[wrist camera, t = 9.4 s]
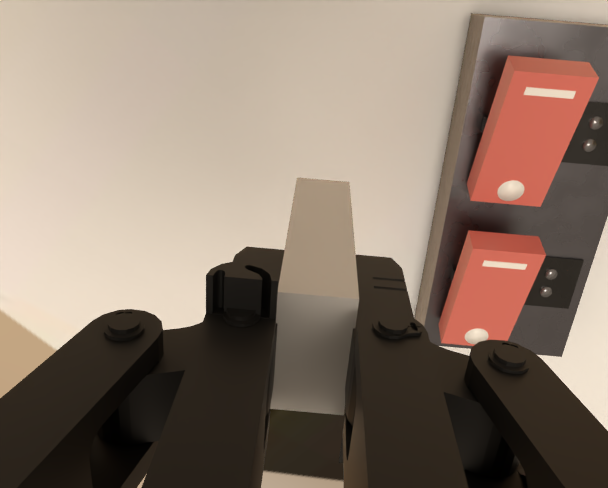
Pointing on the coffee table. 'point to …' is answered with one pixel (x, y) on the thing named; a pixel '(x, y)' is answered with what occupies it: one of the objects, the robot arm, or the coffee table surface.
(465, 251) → the plate
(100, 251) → the coffee table surface
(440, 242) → the power strip
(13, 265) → the coffee table surface
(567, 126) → the rocker
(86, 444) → the robot arm
